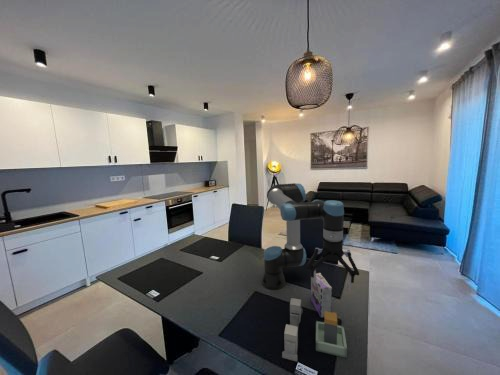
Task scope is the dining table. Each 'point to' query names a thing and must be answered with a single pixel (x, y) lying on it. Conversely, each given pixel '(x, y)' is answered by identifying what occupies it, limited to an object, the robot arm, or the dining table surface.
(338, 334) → the tray
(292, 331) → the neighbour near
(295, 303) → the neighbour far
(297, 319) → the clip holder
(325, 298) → the candy box
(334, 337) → the block
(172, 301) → the dining table surface
